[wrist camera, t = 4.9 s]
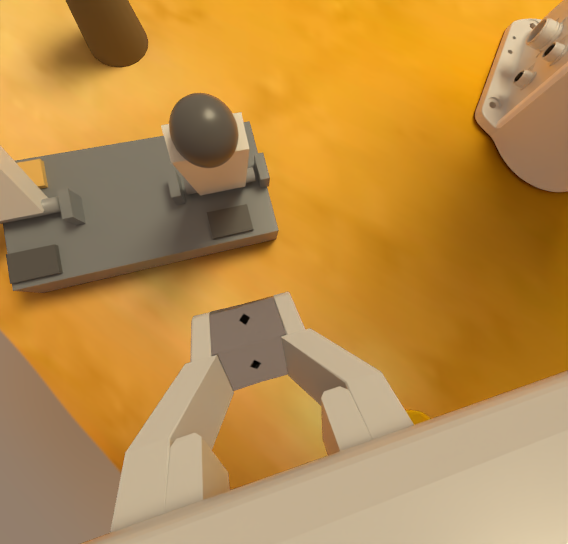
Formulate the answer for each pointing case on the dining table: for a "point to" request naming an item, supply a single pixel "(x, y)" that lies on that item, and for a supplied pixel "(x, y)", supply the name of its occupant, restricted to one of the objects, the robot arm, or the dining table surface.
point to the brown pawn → (110, 30)
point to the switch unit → (128, 215)
